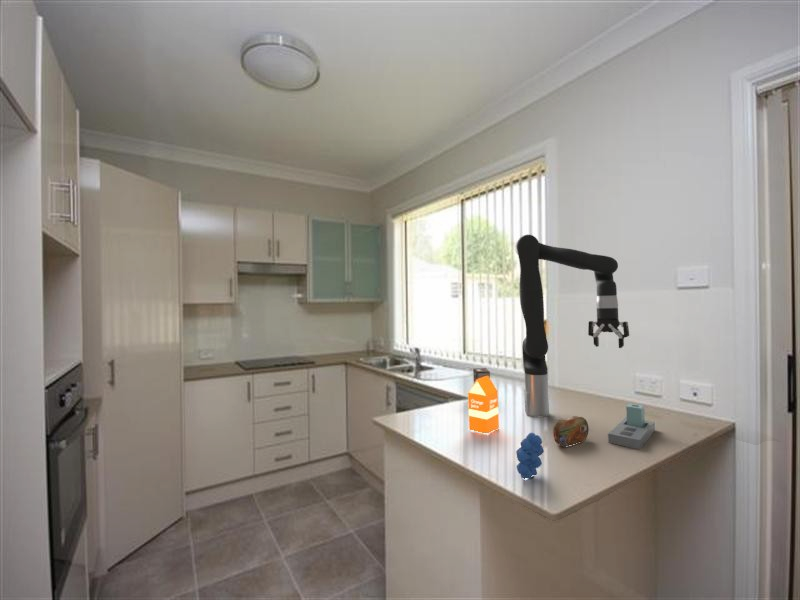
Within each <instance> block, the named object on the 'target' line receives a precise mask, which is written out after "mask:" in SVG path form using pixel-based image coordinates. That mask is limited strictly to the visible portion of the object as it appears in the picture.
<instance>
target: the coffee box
mask: <svg viewBox="0 0 800 600" xmlns="http://www.w3.org/2000/svg"><path fill="white" fill-rule="evenodd" d="M472 369H473V370H472V371H473V384H474V383H475V382H476V379H479V378H482V377H485V376H489V378H490V379H491V372H490V370H489V369H488V368H486V367H480V368H479V367H476V368H472Z"/></svg>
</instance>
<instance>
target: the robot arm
mask: <svg viewBox="0 0 800 600" xmlns="http://www.w3.org/2000/svg"><path fill="white" fill-rule="evenodd" d="M514 248H515V249H514V250H515V253H516V254H517V256H518V261H519V267H520V268H519V269H520V271H519V272H520V273H519V284H518V286H519V288H518V291H519V302H520V308H521V311H522V312H521V313H522V316H523V320H524V323H525V338H524V339H523V342H522V362H523V365H522V366H523V371H524V389H523V392H524V412H525V413H526V416H529V417H537V418H544V417H548V416H550V398H549V396H550V395H549V373H548V365H547V361H546V355H547V353H548V351H549V344H548V338H547V332H546V327H545V309H544V307H545V305H544V292H543V284H542V277H541V273H540V260H543V261H547V262H551V263H556V264H559V265H563V266H567V267H571V268H575V269H578V270H587V271H593V273H594V279H595V282H596V283H595V285H596V302H595V303H596V321H593V320H590V321H588V328H587V329H588V331H587V335H588V337H589V336H590V337H592V338H593V345H594V346H595V347H599V344H600V343H599V342H600V341H599V340H600V339H599V336H600V334H601V333H602V332H603V333H614V334H615V335H616V336H617V337H618V340H617V341H618V348H619V349H622V348H623V347H624V346H625V338H628V337H629V336H630V330H629V329H630V328H629V322H628V321H619V301H618V296H617V295H618V293H617V292H618V291H617V283H616V282H615V281H614V273H615V272H617V270H618V267H619V264H618V262H617V260H616V258H614V257H611V256H609V255H608V256H607V255H602V254H593V253H590V252H586V251H582V250H577V249H571V248H566V247H557V246H553V245H551V246H550V245H548V244H544V243H541V242H540V241H539V240H538V239H537V237H536V236H534V235H533V234H524V235H521V236H520V238H518V240H517V241H516V243H515V247H514ZM595 326H596V327H598V328H597V329H596V331H595V332H594V327H595ZM619 327H621V328H623V333H622V332H621V330H620V329H619Z"/></svg>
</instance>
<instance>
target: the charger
mask: <svg viewBox="0 0 800 600" xmlns="http://www.w3.org/2000/svg"><path fill="white" fill-rule="evenodd" d="M626 417H627V425H630V426H635V427H641V428H645V420H646V418H645V405H643V404H635V403H628V404H627V405H626Z"/></svg>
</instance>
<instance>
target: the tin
mask: <svg viewBox="0 0 800 600" xmlns="http://www.w3.org/2000/svg"><path fill="white" fill-rule="evenodd" d="M552 430H553V431H552V432H553V440H554V442H555V443H556V444H557V445H559V446H561V447H563V448H567V447H566V446H569V445H572V446H574V445H573V444H575V445H577V444H576V443H578V444H580V443H579V442H581V443H583V442H585V440H587V438H588V436H589V424H588V421H587V419H586V418H584V417H583V416H578V415H577V416H576V415H575V416H574V415H573V416H570V417H566V418H564V419H561V420H558V421H557V422H556V423H555V424H554V426H553V428H552Z"/></svg>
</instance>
